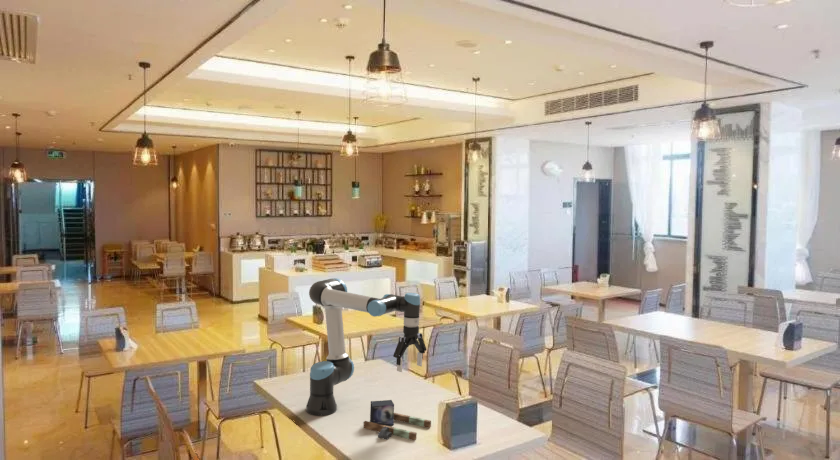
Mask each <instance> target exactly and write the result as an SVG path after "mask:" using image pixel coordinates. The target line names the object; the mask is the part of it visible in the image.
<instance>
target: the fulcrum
mask: <svg viewBox="0 0 840 460" xmlns="http://www.w3.org/2000/svg"><path fill="white" fill-rule="evenodd" d="M392 437H393V435H392V432H389V427H386V426H385V427H384V428H382V429H381V431H380V432H377V438H379V439H383V440H389V439H390V438H392Z"/></svg>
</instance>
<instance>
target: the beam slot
mask: <svg viewBox="0 0 840 460" xmlns="http://www.w3.org/2000/svg"><path fill="white" fill-rule="evenodd" d="M394 421H396V422H401V423H406V424H411V425H416V426H419V427H424V428H428V429H430V428H431V427H432V420H430V419H425V418H421V417H415V416H412V415H411V416H410V415H406V414H403V413H402V414H401V413H397V412H394ZM362 424H363V429H365V430H370V431H373V432H377V433H379V432H380V431H381V429H382V428H384V427H385V425H381V424H377V423H373V422H370V421H368V420H364V421H363V423H362ZM386 427H389V432H392V436H395V437H398V438H399V437H400V438H402V439H403V438H404V439H407V440H410V441H411V440H412V441H416V440H417V432H415V431H411V430H406V429H402V428H397V427H393V426H386Z"/></svg>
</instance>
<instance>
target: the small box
mask: <svg viewBox="0 0 840 460" xmlns="http://www.w3.org/2000/svg"><path fill="white" fill-rule="evenodd" d="M369 409H370V414H369V415H370V416H369V422H373V423H377V424H381V425H385V426H390V427H393V426H395V425H394V422H395V420H394V413H395V403H394V402H393V400H392V399H388V400H387V399H385V400H371V401H370V408H369Z"/></svg>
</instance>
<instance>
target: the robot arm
mask: <svg viewBox="0 0 840 460" xmlns="http://www.w3.org/2000/svg"><path fill="white" fill-rule="evenodd" d="M308 296H309V299H310V300H311V301H312V303H314V304H316V305H320V306H321V307H322V308H323V309H324V312H325V323H326V324H325V325H326V336H327V347H328V355H327V356H326V360H324V361H319V362H318V361H317V362H315V363H314V364H312V365H311V366H310V372H309V397H308V400H307V403H306V407H305V408H306V409H305V410H306V413H307V414H310V415H312V416H328V415H331V414H333V413H335V412H336V411H337V410H338V409H337V407H338V406H337V402H336V399H335V396H334V387H335V386H337V385H338V384H340V383H344V382H346V381H347V380H349V379H350V378H351V377H352V376H353V375H354V371H355V364H354V362H353V361H352V359H351V358H350V356H349V354H348V353H347V352H346V342H345V341H346V340H345V333H344V321H343V310H342V308H343V309H350V310H354V311H357V312H364V313H367V314H369V315H370V316H372V317H380V316H383V315H386V314H389V313H393V312H400V313H403V327H402V328H403V329H402V330H403V331H402V333H403V336H399V337H398V342H397V344H396V347H395V350H394V352H393V355H392V356H393V358H396V371H397V372H399V373H403V356H404V354H405V352H406V351H407V348H408V347H409V346H412V345H414V347H415V348H416V349H417V355H416V357H417V358H416V366H418V367H423V359H424V354H425V352H426V351H427V347H426V344H425V341H424V338H423V333H420V326H419V325H420V310H421V309H420V307H421V296H420V294H419V293H415V292H407V293H405V294H404V296H403V295H397V294H392V293H391V294H389V293H387V294H384V295H383V297H382V298H377V297H373V296H367V295H363V294H356V293H352V292H348V287H347V285H346V283H345V282H344V281H343V280H342V279H341V278H338V277H337V278H329V279H324V280H318V281H315V282H313V284H312V285H311V286H310V288H309V292H308Z"/></svg>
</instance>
